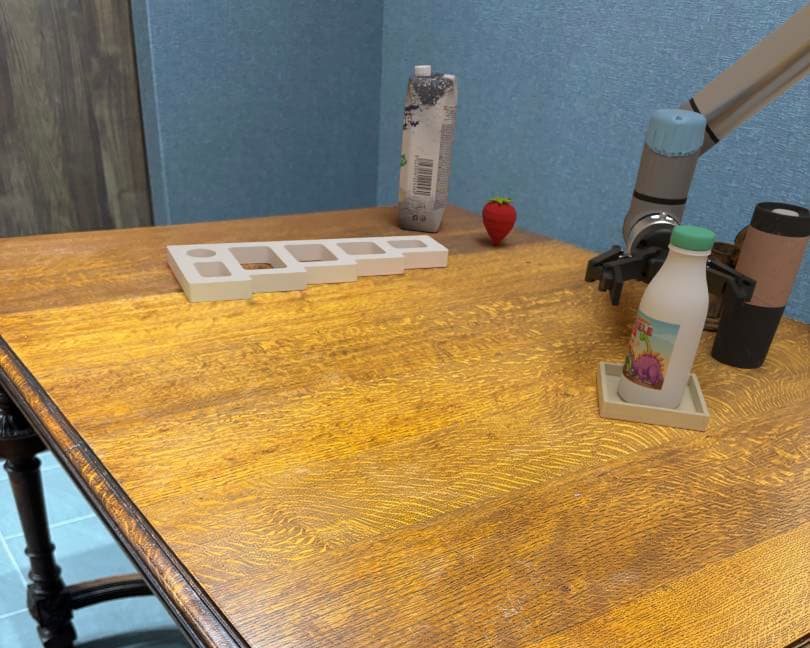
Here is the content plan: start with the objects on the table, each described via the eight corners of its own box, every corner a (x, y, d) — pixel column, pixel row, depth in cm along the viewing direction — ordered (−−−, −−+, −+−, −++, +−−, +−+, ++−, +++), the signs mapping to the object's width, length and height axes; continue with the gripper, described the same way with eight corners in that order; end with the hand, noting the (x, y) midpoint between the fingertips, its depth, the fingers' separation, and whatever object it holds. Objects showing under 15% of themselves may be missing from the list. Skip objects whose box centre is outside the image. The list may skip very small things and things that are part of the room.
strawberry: (491, 251, 147) (499, 193, 142) (471, 239, 153) (478, 183, 147) (519, 250, 150) (528, 192, 144) (498, 238, 155) (506, 182, 149)
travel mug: (698, 355, 114) (744, 205, 102) (724, 343, 118) (771, 198, 107) (749, 374, 110) (803, 220, 98) (774, 361, 114) (828, 212, 103)
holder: (426, 250, 144) (427, 235, 143) (471, 284, 131) (473, 267, 130) (167, 263, 128) (166, 245, 127) (190, 302, 115) (189, 283, 114)
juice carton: (446, 221, 162) (461, 66, 146) (441, 235, 154) (457, 72, 138) (402, 216, 163) (413, 61, 147) (394, 230, 154) (405, 66, 138)
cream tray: (691, 388, 104) (696, 373, 103) (705, 431, 94) (710, 416, 93) (596, 375, 105) (599, 360, 104) (599, 416, 95) (603, 401, 94)
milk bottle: (660, 383, 103) (706, 220, 92) (692, 411, 98) (746, 240, 86) (606, 385, 102) (646, 219, 90) (635, 414, 96) (682, 240, 84)
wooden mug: (705, 344, 118) (745, 214, 107) (663, 310, 128) (695, 189, 118) (759, 343, 120) (804, 216, 109) (713, 310, 130) (749, 191, 120)
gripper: (571, 210, 109) (574, 255, 92) (760, 233, 107) (800, 282, 90) (560, 267, 113) (561, 319, 96) (742, 289, 111) (777, 347, 94)
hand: (677, 301), depth 93 cm, fingers open, 13 cm apart
